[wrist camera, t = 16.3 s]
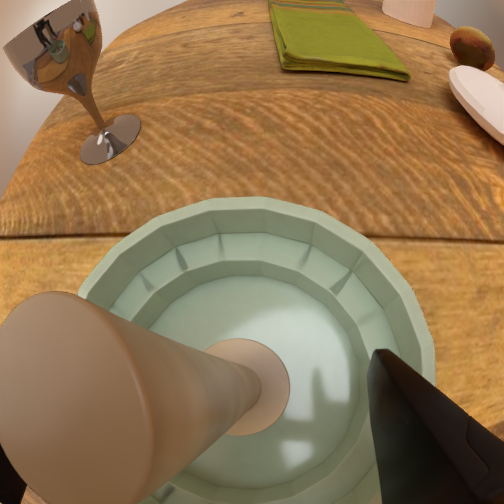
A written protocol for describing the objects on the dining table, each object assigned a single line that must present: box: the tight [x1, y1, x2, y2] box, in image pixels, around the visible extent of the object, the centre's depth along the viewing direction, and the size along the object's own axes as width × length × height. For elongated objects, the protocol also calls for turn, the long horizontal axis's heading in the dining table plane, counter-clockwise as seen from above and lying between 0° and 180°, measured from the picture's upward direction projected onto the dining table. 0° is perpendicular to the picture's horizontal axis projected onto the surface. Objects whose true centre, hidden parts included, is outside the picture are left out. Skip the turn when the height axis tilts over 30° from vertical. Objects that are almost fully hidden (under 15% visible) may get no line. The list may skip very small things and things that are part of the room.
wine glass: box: [3, 0, 141, 165], centre depth 17 cm, size 8×8×15 cm
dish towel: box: [268, 0, 411, 81], centre depth 31 cm, size 15×36×3 cm, turn 0°
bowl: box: [77, 196, 436, 504], centre depth 12 cm, size 16×16×5 cm
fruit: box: [450, 26, 495, 71], centre depth 24 cm, size 8×8×8 cm
